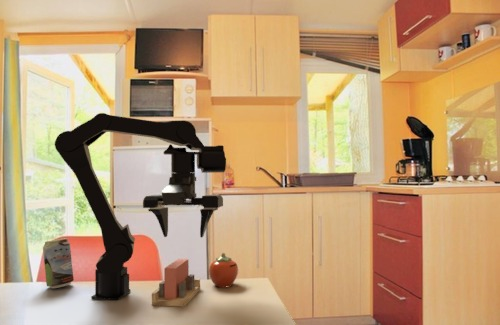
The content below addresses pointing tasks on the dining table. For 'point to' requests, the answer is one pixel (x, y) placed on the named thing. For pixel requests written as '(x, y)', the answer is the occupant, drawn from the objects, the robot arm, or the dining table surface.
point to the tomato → (223, 271)
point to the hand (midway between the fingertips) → (183, 237)
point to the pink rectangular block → (175, 277)
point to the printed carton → (58, 263)
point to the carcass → (184, 293)
